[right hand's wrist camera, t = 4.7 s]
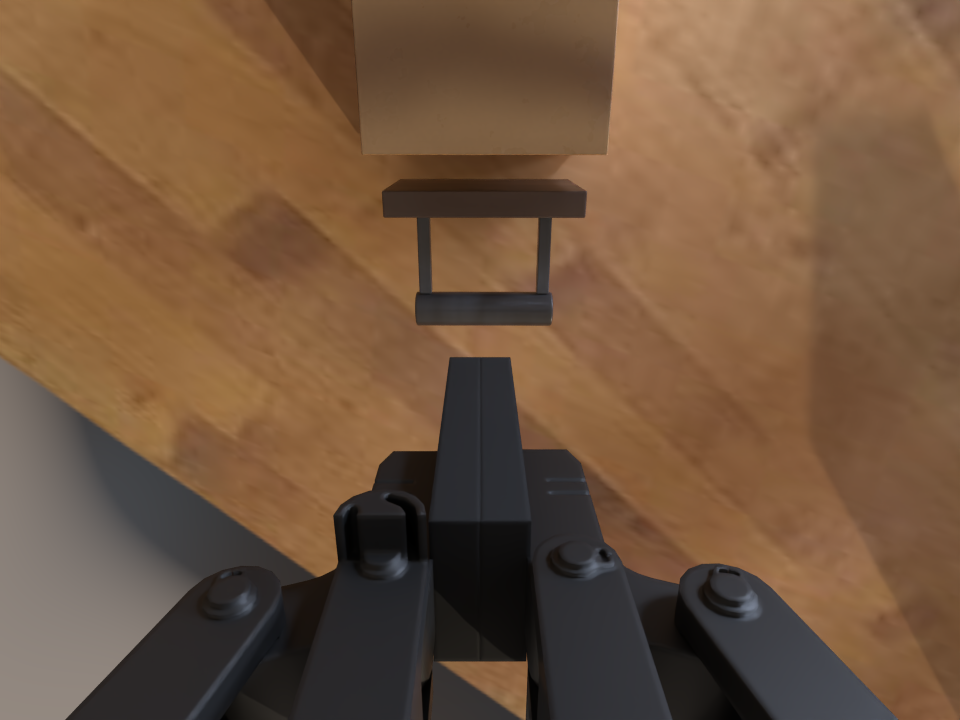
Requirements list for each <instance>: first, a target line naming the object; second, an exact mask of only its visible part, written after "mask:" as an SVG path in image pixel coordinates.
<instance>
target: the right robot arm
mask: <svg viewBox="0 0 960 720" xmlns="http://www.w3.org/2000/svg"><path fill="white" fill-rule="evenodd" d="M333 517H334V526H335V535H336V545H337V554H338V565H337V568H336V569H335V570H333V571H331V572H329V573H327V574H325V575H323V576H320V577H317V578H314V579H311V580H308V581H304V582H299V583H295V584H291V585H287V586H282V587H281V584H280V580H279V579H278V578H277V577H276V576H275V574H274V573H273V572H272V571H269V570H266V569H264V568H261V567H258V566H239V567H234V568H230V569H225V570H222V571H220V572H217V573H215V574H213V575H211V576H209V577H207V578H205V579H203V580H202V581H201V582H199V583H198V584H197V585H196V586H194V587H193V588H192V589H191V590H189V591H188V592H187V593H186V594H185V595H184V596H183V597H182V599H181V600H180V601H179V602H178V603H177V604H176V605H175V606H174V607H173V608H172V609H171V610H170V611H169V612H168V613H167V614H166V615H165V616H164V617H163V618H162V619H161V620H160V621H159V623H158V624H157V625H156V626H155V627H154V628H153V629H152V630H151V631H150V632H149V633H148V634H147V635H146V636H145V637H144V638H143V639H142V640H141V641H140V642H139V643H138V644H137V645H136V647H135V648H134V649H133V650H132V651H131V652H130V653H129V654H128V655H127V656H126V657H125V658H124V659H123V660H122V661H121V662H120V663H119V664H118V665H117V666H116V667H115V669H114V670H113V671H112V672H111V673H110V674H109V675H108V676H107V677H106V678H105V679H104V680H103V681H102V682H101V683H100V684H99V685H98V686H97V687H96V688H95V689H94V690H93V691H92V692H91V694H90V695H89V696H88V697H87V698H86V699H85V700H84V701H83V702H82V703H81V704H80V705H79V706H78V707H77V708H76V709H75V710H74V711H73V712H72V713H71V714H70V715H69V716H68V718H67V719H66V720H431V712H432V700H433V677H432V663H433V655H434V661H526V655H527V661H528V677H527V702H526V720H898V719H897V718H896V717H895V716H894V715H893V714H892V713H891V711H890V710H889V709H888V708H887V707H886V706H885V705H884V704H883V703H882V702H881V701H880V700H879V699H878V698H877V697H876V696H875V695H874V694H873V693H872V692H871V691H870V690H869V689H868V688H867V687H866V686H865V685H864V683H863V682H862V681H861V680H860V679H859V678H858V677H857V676H856V675H855V674H854V673H853V672H852V671H851V670H850V669H849V668H848V667H847V666H846V665H845V664H844V663H843V662H842V661H841V660H840V659H839V658H838V657H837V656H836V654H835V653H834V652H833V651H832V650H831V649H830V648H829V647H828V646H827V645H826V644H825V643H824V642H823V641H822V640H821V639H820V638H819V637H818V636H817V635H816V634H815V633H814V632H813V631H812V630H811V629H810V628H809V626H808V625H807V624H806V623H805V622H804V621H803V620H802V619H801V618H800V617H799V616H798V615H797V614H796V613H795V612H794V611H793V610H792V609H791V608H790V607H789V606H788V605H787V604H786V603H785V602H784V601H783V600H782V598H781V597H780V596H779V595H778V594H777V593H776V592H775V591H774V590H773V589H772V588H771V587H769V586H768V585H767V584H766V583H764V582H763V581H762V580H761V579H759V578H758V577H757V576H755V575H753V574H750V573H748V572H746V571H744V570H742V569H740V568H737V567H732V566H728V565H723V564H701V565H698V566H695V567H693V568H690V569H688V570H687V571H686V572H685V574H684V575H683V576H682V577H681V578H680V584H675V583H671V582H666V581H662V580H658V579H654V578H650V577H647V576H644V575H641V574H638V573H636V572H634V571H632V570H630V569H628V568H626V567H625V566H623V564H622V561H621V560H620V558H619V556H618V555H617V553H616V551H615V550H614V549H612V548H611V547H610V546H609V545H607V544H606V543H605V542H604V540H603V536H602V533H601V530H600V526H599V523H598V519H597V516H596V513H595V509H594V506H593V503H592V499H591V496H590V495H589V489H588V486H587V483H586V482H585V476H584V473H583V469H582V466H581V463H580V462H579V461H578V460H577V459H576V458H575V457H574V456H573V455H572V454H571V453H570V452H569V451H567V450H522V444H521V436H520V429H519V421H518V413H517V406H516V398H515V390H514V383H513V375H512V367H511V360H510V357H450V360H449V367H448V375H447V383H446V390H445V398H444V406H443V413H442V421H441V429H440V436H439V444H438V451H393V452H392V453H391V454H390V455H389V456H388V457H387V458H386V459H385V460H384V461H383V462H382V463H381V464H380V465H379V468H378V471H377V475H376V478H375V484H374V485H373V488H372V491H368V492H365V493H362V494H359V495H356V496H353V497H352V498H350V499H349V500H347V501H346V502H344V503H343V504H341V505H340V507H339V508H338V510H337V511H336V512H335V514H334V515H333Z"/></svg>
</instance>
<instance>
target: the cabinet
mask: <svg viewBox="0 0 960 720" xmlns="http://www.w3.org/2000/svg"><path fill="white" fill-rule="evenodd" d="M351 3H352V18H353V32H354V47H355V61H356V76H357V91H358V105H359V120H360V134H361V149H362V154H363V155H607V154H608V141H609V128H610V114H611V101H612V87H613V74H614V61H615V47H616V34H617V21H618V7H619V0H351Z"/></svg>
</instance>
